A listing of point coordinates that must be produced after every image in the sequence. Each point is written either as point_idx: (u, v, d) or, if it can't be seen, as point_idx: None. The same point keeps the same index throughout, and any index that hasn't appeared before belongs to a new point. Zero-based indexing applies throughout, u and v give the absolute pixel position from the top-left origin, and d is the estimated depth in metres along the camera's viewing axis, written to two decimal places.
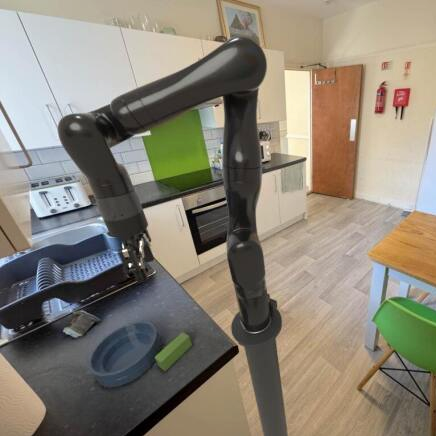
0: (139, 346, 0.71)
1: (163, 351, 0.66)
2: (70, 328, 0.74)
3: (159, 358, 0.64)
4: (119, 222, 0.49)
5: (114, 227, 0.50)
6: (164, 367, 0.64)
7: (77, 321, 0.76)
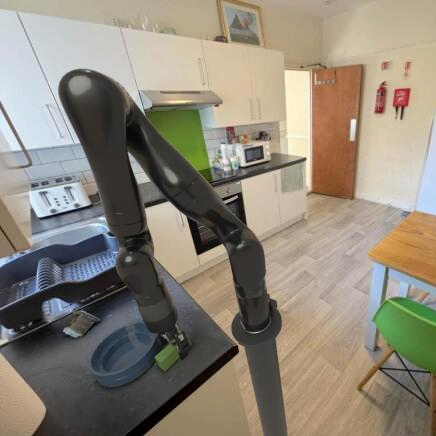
0: (139, 346, 0.71)
1: (163, 351, 0.66)
2: (70, 328, 0.74)
3: (159, 358, 0.64)
4: (168, 317, 0.59)
5: (163, 323, 0.59)
6: (164, 367, 0.64)
7: (77, 321, 0.76)
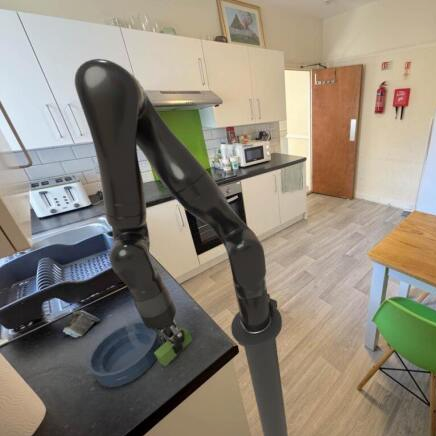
0: (139, 346, 0.71)
1: (163, 346, 0.65)
2: (70, 328, 0.74)
3: (159, 353, 0.63)
4: (165, 312, 0.59)
5: (160, 319, 0.58)
6: (164, 362, 0.64)
7: (77, 321, 0.76)
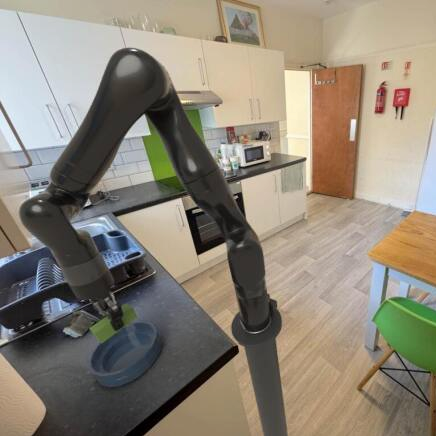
0: (139, 346, 0.71)
1: (100, 322, 0.60)
2: (70, 328, 0.74)
3: (94, 329, 0.58)
4: (97, 281, 0.54)
5: (91, 288, 0.53)
6: (100, 339, 0.59)
7: (77, 321, 0.76)
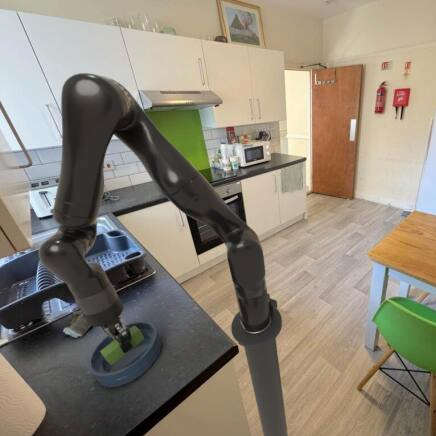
0: (139, 346, 0.71)
1: (110, 345, 0.64)
2: (70, 328, 0.74)
3: (104, 352, 0.62)
4: (108, 309, 0.58)
5: (103, 316, 0.57)
6: (110, 361, 0.62)
7: (77, 321, 0.76)
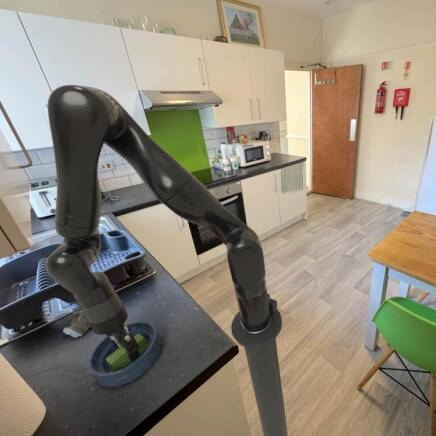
0: None
1: (115, 353, 0.65)
2: (70, 328, 0.74)
3: (110, 360, 0.64)
4: (113, 318, 0.59)
5: (108, 325, 0.58)
6: (115, 369, 0.64)
7: (77, 321, 0.76)
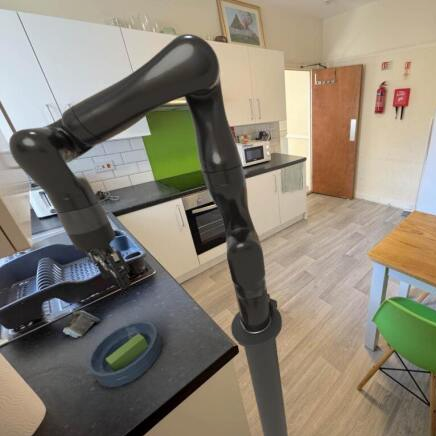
0: None
1: (115, 353, 0.65)
2: (70, 328, 0.74)
3: (110, 360, 0.64)
4: (97, 231, 0.50)
5: (91, 238, 0.50)
6: (115, 369, 0.64)
7: (77, 321, 0.76)
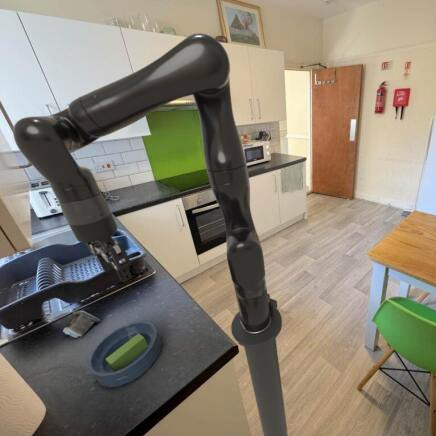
0: None
1: (115, 353, 0.65)
2: (70, 328, 0.74)
3: (110, 360, 0.64)
4: (99, 222, 0.50)
5: (93, 229, 0.50)
6: (115, 369, 0.64)
7: (77, 321, 0.76)
